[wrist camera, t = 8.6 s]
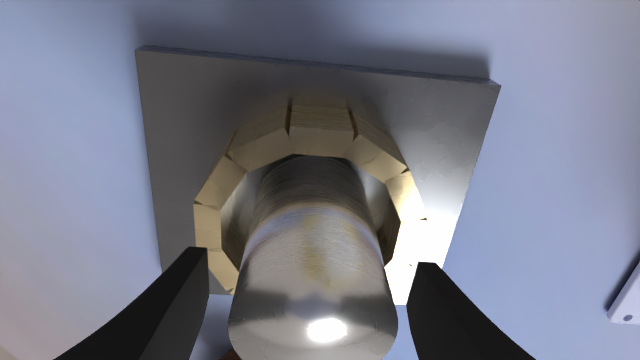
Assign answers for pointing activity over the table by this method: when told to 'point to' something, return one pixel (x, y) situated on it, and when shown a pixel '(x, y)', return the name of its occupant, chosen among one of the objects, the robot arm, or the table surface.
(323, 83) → the ring plate
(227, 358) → the bolt
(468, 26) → the table surface
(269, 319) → the piston
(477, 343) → the robot arm
